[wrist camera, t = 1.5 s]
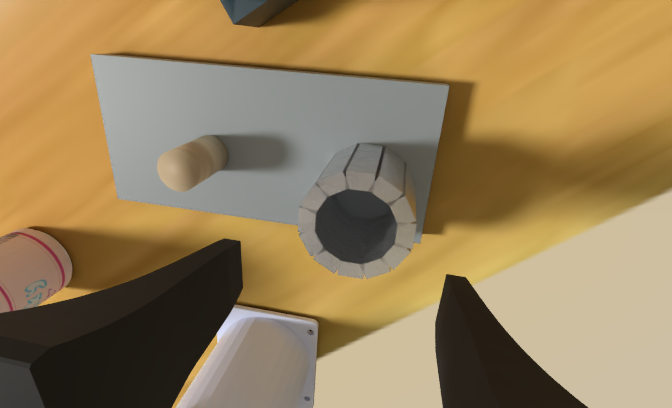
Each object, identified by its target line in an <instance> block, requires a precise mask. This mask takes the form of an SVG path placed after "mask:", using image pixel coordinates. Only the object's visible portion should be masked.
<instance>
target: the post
mask: <svg viewBox="0 0 672 408" xmlns="http://www.w3.org/2000/svg"><path fill="white" fill-rule="evenodd" d="M227 162H228V150H227V148H226V146H225V144H224V143H223V142H222V141H221V140H220V139H219V138H217V137H215V136H212V135H204V136H201V137H199V138H197V139H194V140H192V141H190V142H188V143H185V144H183V145H181V146H178V147H176V148H174V149H172V150H169V151H167V152H165V153H163V154H162V155H161V156H160V157H159V159H158V162H157V171H158V174H159V177H160V179H161V180H162V181H163V183H164V184H165V185H166V186H167V187H169V188H170V189H172V190H174V191H178V192H185V191H189V190H190V189H192V188H193V187H195V186H196V185H198V184H199V183H201V182H203V181H204V180H206V179H207V178H209V177H210V176H212V175H213V174H215V173H216V172H218V171H219V170H221V169H222V168H224V167H225V166H226V164H227Z"/></svg>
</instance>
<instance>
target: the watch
mask: <svg viewBox="0 0 672 408" xmlns="http://www.w3.org/2000/svg"><path fill="white" fill-rule="evenodd" d="M220 1H221V3H222V4H223V6H224V8H225V10H226V12H227V13H228V15H229V17H230V19H231V20H232V22H233V24H235V25H244V26H252V27H260V26H261V25H263V24H264V23H266V22H267V21H269V20H270V19H272V18H273V17H274V16H276V15H277V14H279V13H280V12H282V11H283V10H285V9H286V8H288V7H289V6H291V5H292V4H294V3H295V2H297V1H298V0H220Z"/></svg>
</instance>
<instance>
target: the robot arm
mask: <svg viewBox="0 0 672 408" xmlns="http://www.w3.org/2000/svg"><path fill="white" fill-rule="evenodd" d="M242 289H243V280H242V262H241V243H240V241H236V240H230V239H222V240H220V241H217V242H215V243H213V244H211V245H209V246H207V247H205V248H203V249H201V250H199V251H197V252H195V253H193V254H191V255H189V256H186V257H184V258H182V259H180V260H178V261H176V262H174V263H172V264H170V265H167V266H165V267H163V268H161V269H158V270H156V271H154V272H152V273H149V274H147V275H145V276H142V277H140V278H137V279H134V280H132V281H129V282H126V283H123V284H120V285H118V286H115V287H112V288H109V289H105V290H102V291H98V292H95V293H91V294H88V295H84V296H81V297H77V298H73V299H69V300H65V301H61V302H57V303H52V304H47V305H43V306H38V307H33V308H27V309H21V310H15V311H9V312H3V313H0V408H172V406H173V404H174V402H175V400H176V398H177V396H178V394H179V393H180V391H181V389H182V387H183V385H184V383H185V382H186V380H187V378H188V376H189V374H190V373H191V371H192V369H193V368H194V366H195V365H196V363H197V362H198V360H199V359H200V357H201V356H202V354H203V353H204V351H205V350H206V348H207V347H208V345H209V344H210V342H211V341H212V339H213V338H214V337H215V335H216V334H217V341H218V343H217V345H216V346H215V348H214V349H213V351H212V352H211V354H210V355H209V357H208V359H207V360H206V362H205V363H204V365H203V366H202V368H201V369H200V371H199V372H198V374H197V376H196V377H195V379H194V380H193V382H192V383H191V385H190V386H189V388H188V390H187V391H186V393H185V394H184V396H183V397H182V399H181V400H180V402H179V403H178V405H177V407H176V408H313V404H314V389H315V373H316V358H317V342H318V322H317V321H316V320H315V319H311V318H306V317H300V316H295V315H290V314H284V313H279V312H273V311H268V310H262V309H257V308H251V307H246V306H240V305H235V303H236V301H237V299H238V297H239V295H240V293H241V291H242ZM435 328H436V329H435V340H436V341H435V342H436V358H437V365H438V374H439V381H440V388H441V396H442V404H443V408H588V407H587V406H585V405H584V404H583V403H581V402H580V401H579V400H578V399H576V398H575V397H574V396H573V395H572V394H570V393H569V392H568V391H567V390H565V389H564V388H563V387H562V386H561V385H560V384H558V383H557V382H556V381H555V380H554V379H553V378H552V377H551V376H549V375H548V374H547V373H546V372H545V371H544V370H543V369H542V368H541V367H540V366H539V365H538V364H537V363H536V362H535V361H533V359H532V358H531V357H530V356H529V355H527V353H526V352H525V351H524V350H523V349H522V348H521V347H520V346H519V345H518V344H517V343H516V342H515V341H514V339H513V338H512V337H511V336H510V335H509V334H508V333H507V332H506V330H505V329H504V328H503V327H502V326H501V324H500V323H499V322H498V321H497V319H496V318H495V317H494V315H493V314H492V313H491V312H490V310H489V309H488V308H487V307H486V305H485V304H484V302H483V301H482V299H481V298H480V297H479V295H478V294H477V292H476V291H475V290H474V288H473V287H472V285H471V284H470V283H469V281H468V280H467V278H466V277H460V276H454V275H448V274H446V279H445V283H444V287H443V292H442V296H441V300H440V305H439V309H438V313H437V318H436V323H435ZM310 330H312V331H313V332H312V331H310Z"/></svg>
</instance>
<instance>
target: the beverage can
mask: <svg viewBox="0 0 672 408" xmlns="http://www.w3.org/2000/svg"><path fill="white" fill-rule="evenodd" d="M71 277H72V263H71V259H70V257H69V255H68V253H67V252H66V250H65V249H64V248H63V246H62V245H61V244H60V243H59V242H58V241H57V240H56V239H54V238H53V237H51V236H50V235H48V234H46V233H44V232H41V231H38V230H33V229H27V228H23V229H18V230H15V231H13V232H11V233H9V234H7V235H5V236H3V237H1V238H0V313H3V312H9V311H15V310H21V309H27V308H33V307H36V306H38V305H39V304H41V303H42V302H44V301H45V300H47V299H48V298H49V297H51V296H52V295H54V294H55V293H57V292H58V291H60V290H61V289H62V288H64V287H65V286H67V285H68V283H69V282H70V280H71Z"/></svg>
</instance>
